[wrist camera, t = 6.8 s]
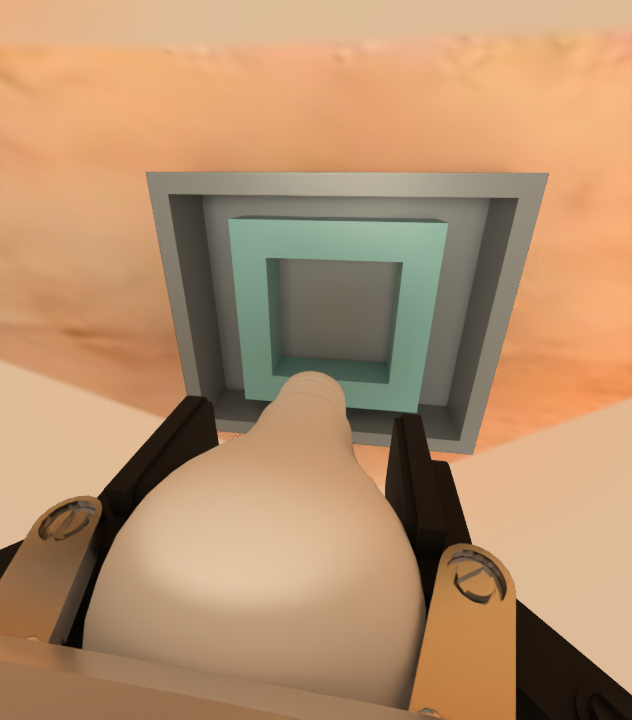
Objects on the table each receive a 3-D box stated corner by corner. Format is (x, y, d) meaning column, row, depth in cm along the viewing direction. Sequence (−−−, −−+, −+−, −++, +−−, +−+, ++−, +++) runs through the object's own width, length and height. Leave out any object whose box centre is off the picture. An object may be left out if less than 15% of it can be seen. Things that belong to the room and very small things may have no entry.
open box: (508, 177, 20) (549, 172, 15) (455, 410, 27) (472, 454, 22) (190, 175, 22) (145, 171, 17) (220, 391, 29) (193, 428, 24)
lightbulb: (360, 293, 12) (348, 747, 2) (411, 428, 14) (519, 957, 4) (215, 348, 14) (-160, 744, 4) (280, 461, 16) (148, 896, 6)
